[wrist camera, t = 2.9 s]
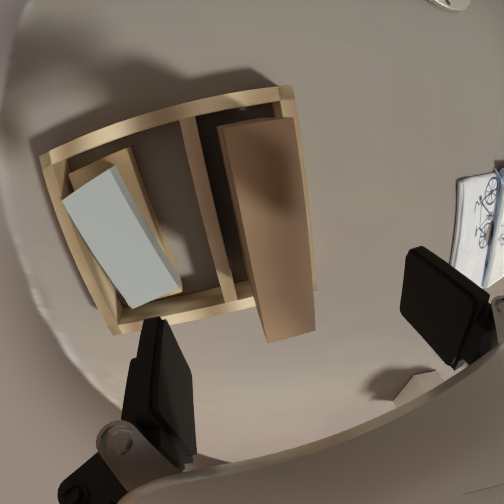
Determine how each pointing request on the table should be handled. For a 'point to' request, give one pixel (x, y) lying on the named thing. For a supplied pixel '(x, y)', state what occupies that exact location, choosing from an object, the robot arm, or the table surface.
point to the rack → (229, 292)
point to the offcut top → (121, 239)
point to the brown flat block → (271, 221)
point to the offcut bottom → (135, 186)
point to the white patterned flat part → (480, 228)
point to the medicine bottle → (418, 387)
